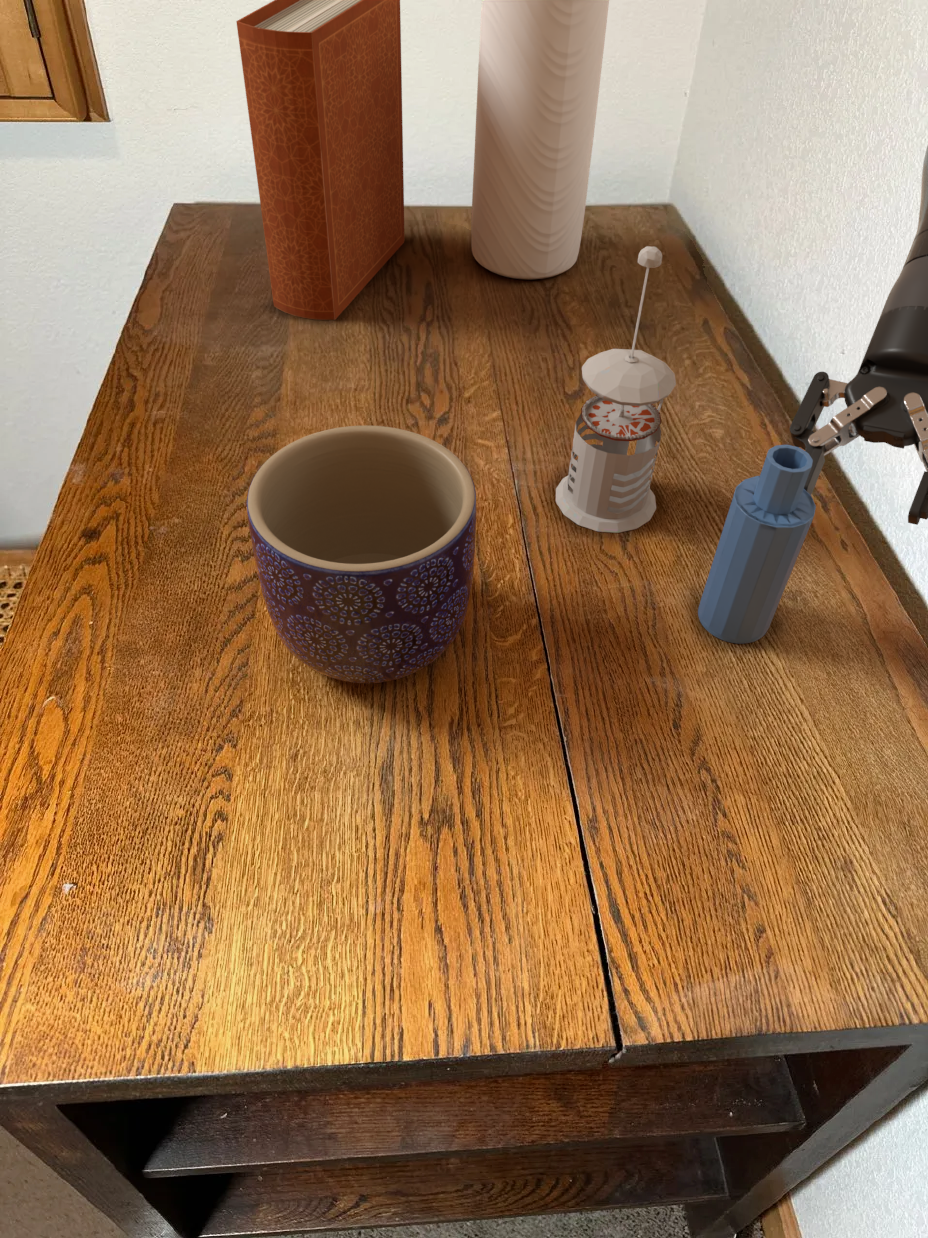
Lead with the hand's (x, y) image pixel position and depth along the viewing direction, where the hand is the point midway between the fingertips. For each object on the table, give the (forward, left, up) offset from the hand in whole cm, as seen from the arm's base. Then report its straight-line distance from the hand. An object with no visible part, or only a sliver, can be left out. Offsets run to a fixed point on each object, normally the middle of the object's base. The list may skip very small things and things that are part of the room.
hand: (856, 507), depth 75 cm
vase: (+44, -49, -10) cm, 66 cm away
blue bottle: (+7, +6, -10) cm, 13 cm away
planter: (+35, +19, -10) cm, 41 cm away
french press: (+21, -6, -10) cm, 24 cm away
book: (+64, -35, -10) cm, 73 cm away
